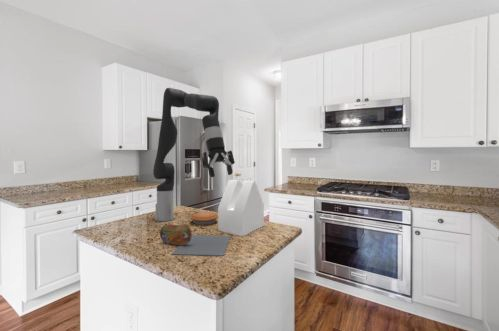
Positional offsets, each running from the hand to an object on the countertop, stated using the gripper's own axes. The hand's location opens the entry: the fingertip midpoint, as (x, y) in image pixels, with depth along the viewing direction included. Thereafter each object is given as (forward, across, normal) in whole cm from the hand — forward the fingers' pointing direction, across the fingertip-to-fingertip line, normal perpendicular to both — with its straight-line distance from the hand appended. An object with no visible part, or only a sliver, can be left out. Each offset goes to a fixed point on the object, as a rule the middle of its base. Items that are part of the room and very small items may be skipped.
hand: (221, 175), depth 102 cm
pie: (+19, -8, -43) cm, 48 cm away
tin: (+24, +17, -20) cm, 35 cm away
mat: (+27, +8, -13) cm, 30 cm away
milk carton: (+26, -18, -22) cm, 39 cm away
